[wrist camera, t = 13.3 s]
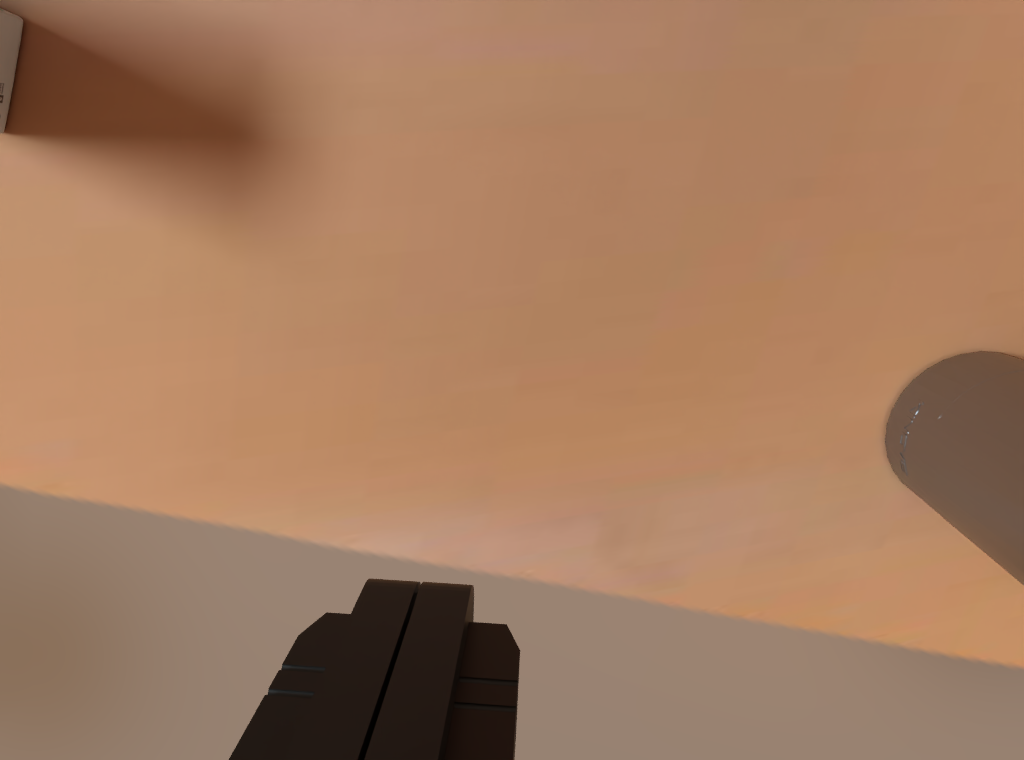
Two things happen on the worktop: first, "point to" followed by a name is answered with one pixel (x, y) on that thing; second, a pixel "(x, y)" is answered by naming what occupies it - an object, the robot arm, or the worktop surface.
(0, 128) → the skincare box
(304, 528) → the worktop surface
